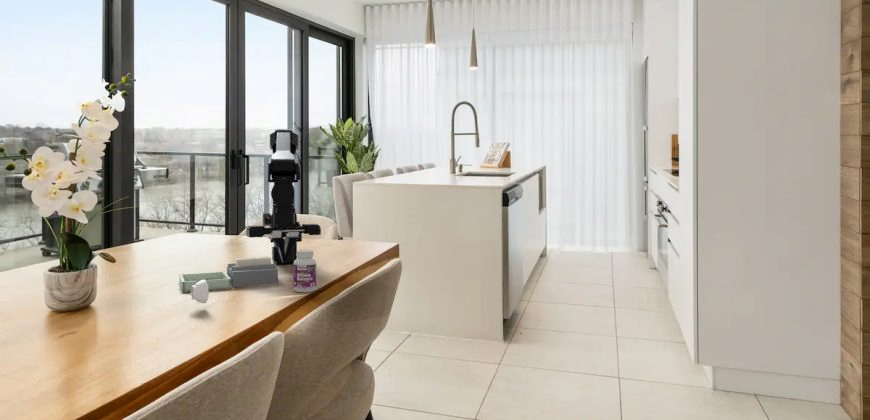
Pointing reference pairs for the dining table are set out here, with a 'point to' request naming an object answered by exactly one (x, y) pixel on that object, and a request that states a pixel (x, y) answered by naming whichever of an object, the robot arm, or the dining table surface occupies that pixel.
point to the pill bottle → (304, 272)
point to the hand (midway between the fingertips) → (284, 262)
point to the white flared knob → (200, 291)
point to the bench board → (252, 274)
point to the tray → (216, 284)
